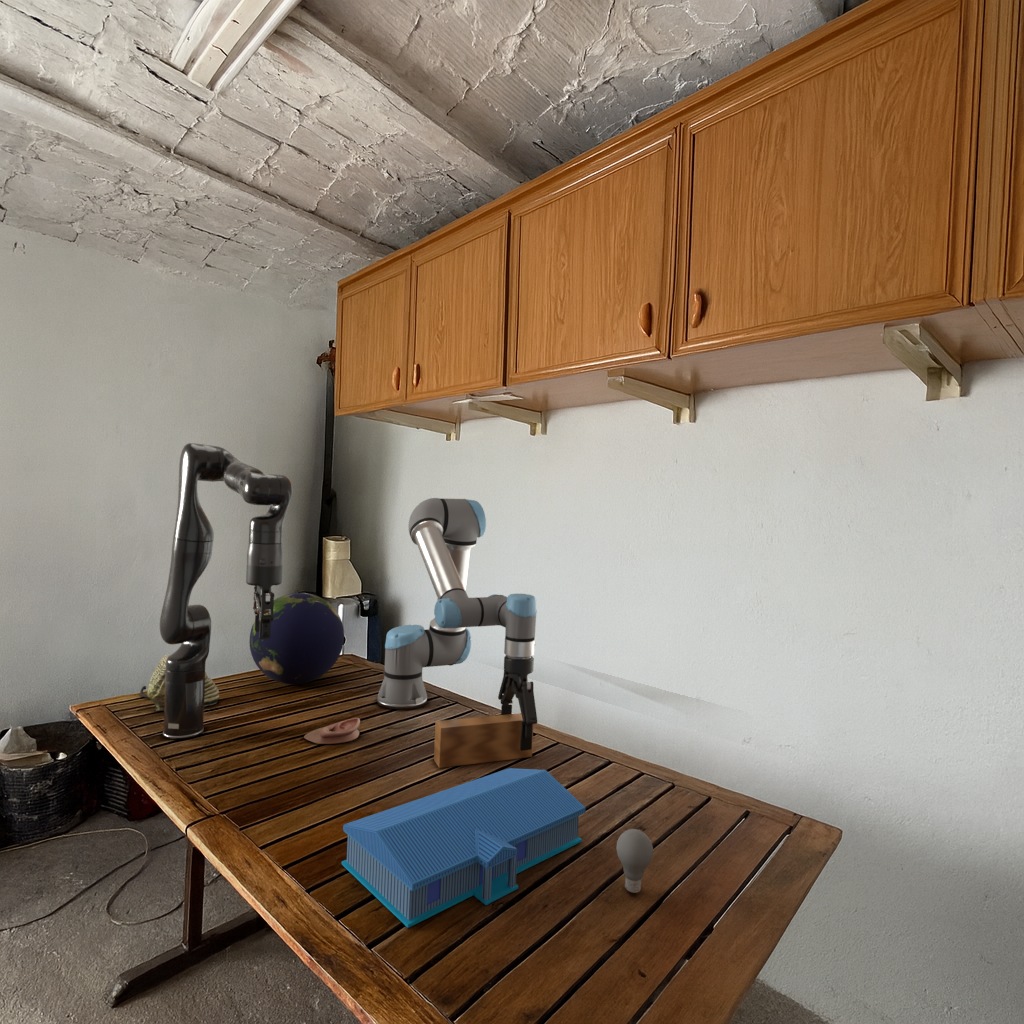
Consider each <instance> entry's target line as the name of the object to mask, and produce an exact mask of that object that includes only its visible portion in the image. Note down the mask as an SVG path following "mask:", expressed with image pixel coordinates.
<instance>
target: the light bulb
mask: <svg viewBox="0 0 1024 1024" xmlns="http://www.w3.org/2000/svg"><path fill="white" fill-rule="evenodd" d="M615 849H616V854H617V857H618V859H619V861H620V863H621V865H622V867H623V873H624V874H623V875H624V876H625V878H624V888H625V890H627V891H628V892H630V893H634V894H635V893H639V892H640V891H641V889H642V887H641V886H642V879H643V877H644V875H645V871H646V868H647V867H648V866H649V864H650V863H651V861H652V859H653V855H654V847H653V843H652V841H651V838H649V836H648V835H647V834H646V833H645V832H643V831H642V830H641V829H636V828H629V829H627V830H625V831H623V832H622V833H621V834H620V835H619V837H618V839H617V841H616V847H615Z"/></svg>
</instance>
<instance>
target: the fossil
mask: <svg viewBox="0 0 1024 1024" xmlns="http://www.w3.org/2000/svg"><path fill="white" fill-rule="evenodd" d="M170 655H171V654H165V655H164V656H163V657H162V658H161V659H160V660H159V662H158V663H157V666H156V667H155V669H154V670H153V672H152V675H151V677H150V680H149V684H148V688H147V694H146V695H148V697H149V698H148V699H149V700H150V701H152V703H153V704H154V706H155V711H158V712H159V711H162V712H163V711H164V705H165V674H166V660H167V658H168V657H169V656H170ZM220 698H221V696H220V690H219V688H218V686H217V685H216V683H215V682H214V681H213V679H212V678H211V677H209V675H208V674H207V672H206V671H205V693H204V707H207V706H213V705H215V704H217V703H218V701H219V699H220Z"/></svg>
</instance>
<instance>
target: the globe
mask: <svg viewBox="0 0 1024 1024" xmlns="http://www.w3.org/2000/svg"><path fill="white" fill-rule="evenodd" d="M264 615H269V614H268V613H266V614H264ZM273 616H274V619H273V620H272V622H271V635H270V639H263V640H262V639H260V638H259V632H256V631H255V620H254V621H253V623H252V626H251V628H250V633H249V642H248V643H249V651H250V655H251V658H252V660H253V662H254V663H255V665H256V667H257V668H258V669H259V670H260V672H261V673H263V674H264V675H265V676H266V677H267V678H268V679H271V680H273V681H275V682H278V683H280V684H284V685H290V686H291V685H304V684H307V683H311V682H313V681H316V680H317V679H319V678H321V677H322V676H324V675H325V674H326V673H328V672H329V671H330V670H331V669H332V668H333V667H334V665H336V662H337V661H338V660H339V657H340V656H341V653H342V650H343V647H344V642H345V629H344V625H343V621H342V618H341V616H340V614H339V613H338V612H337V610H336V609H335V607H334V606H333V605H332V604H331V603H329V602H328V601H327V600H325V599H323V598H322V597H320V596H318V595H315V594H311V593H308V592H307V593H306V592H293V593H288V594H284V595H281V596H279V597H276V598H274V612H273Z"/></svg>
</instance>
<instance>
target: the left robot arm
mask: <svg viewBox="0 0 1024 1024" xmlns="http://www.w3.org/2000/svg"><path fill="white" fill-rule="evenodd" d="M199 481H201V482H212V483H215V482H223V483H224V484H225V486H226V488H228V489H230V490H231V491H233V492H234V493H237V494H238V495H240V496H241V498H242V500H243V501H244V502H245V503H247V504H249V505H252V506H269V508H268V510H267V511H266V512H265V514H262V515H256V516H253V517H252V518H250V520H249V528H248V545H247V551H246V571H245V572H246V574H245V575H246V576H245V583H246V584H247V585H249V586H253V593H252V598H253V602H252V606H253V607H252V609H253V614H254V621H255V631H256V632H259V638H260V639H262V640H263V639H270V635H271V622H272V620H273V619H274V616H273V612H274V600H275V592H273V591H272V587H273V586H279V585H281V584H282V583H283V569H284V568H283V565H284V563H283V562H284V549H283V531H284V530H283V529H284V523H285V520H286V516H287V513H288V509H289V507H290V504H291V500H292V498H293V493H294V492H293V490H294V489H293V485H292V482H291V480H290V478H288V477H287V476H286V475H284V474H273V473H271V474H270V473H264V472H263V471H262V470H260V469H259V468H257V467H255V466H252V465H251V464H250V465H249V464H247V463H244V462H242V461H240V460H239V459H238V458H237V457H236V456H234V455H233V454H232V453H231V452H229V451H228V450H227V449H226V448H224V447H221V446H217V445H211V444H204V443H203V444H202V443H195V442H188V443H186V444H185V445H184V446H183V448H182V450H181V451H180V456H179V465H178V488H177V489H178V491H177V508H176V517H175V523H174V530H173V537H172V545H171V555H170V556H171V557H170V566H169V573H168V579H167V585H166V590H165V595H164V600H163V603H162V608H161V613H160V617H159V634H160V637H161V639H162V641H164V643H166V644H168V645H179V644H180V646H179V647H178V648H177V650H175V651H174V652H173V653H172V654H171V653H170V654H169V655H170V656H169V657H168V658H167V660H166V674H165V705H164V710H163V731H162V737H164V738H166V739H169V740H185V739H190V738H191V739H192V738H194V737H197V736H199V735H202V734H203V732H204V730H205V729H204V722H205V721H204V718H205V706H204V693H205V672H206V664H207V663H206V662H207V659H208V657H209V653H210V647H211V636H212V635H211V634H212V617H211V614H210V612H209V610H208V609H207V607H206V606H205V605H202V604H190V600H191V595H192V591H193V589H194V587H195V585H196V584H197V582H198V581H199V579H200V578H201V576H202V575H203V573H204V572H205V570H206V568H207V567H208V565H209V563H210V561H211V559H212V556H213V555H212V553H213V547H214V537H215V532H214V529H213V526H212V524H211V522H210V520H209V518H208V516H207V515H206V513H205V511H204V508H203V507H202V505H201V502H200V499H199V493H198V482H199ZM189 604H190V605H189ZM266 613H268V614H269V615H264V614H266ZM146 690H147V686H146V685H143V686H142V687H141V689H140V693H139V694H140V696H141V697H143V698H147V699H150V698H149V697H148V695H147V694H145V693H144V691H146Z"/></svg>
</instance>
